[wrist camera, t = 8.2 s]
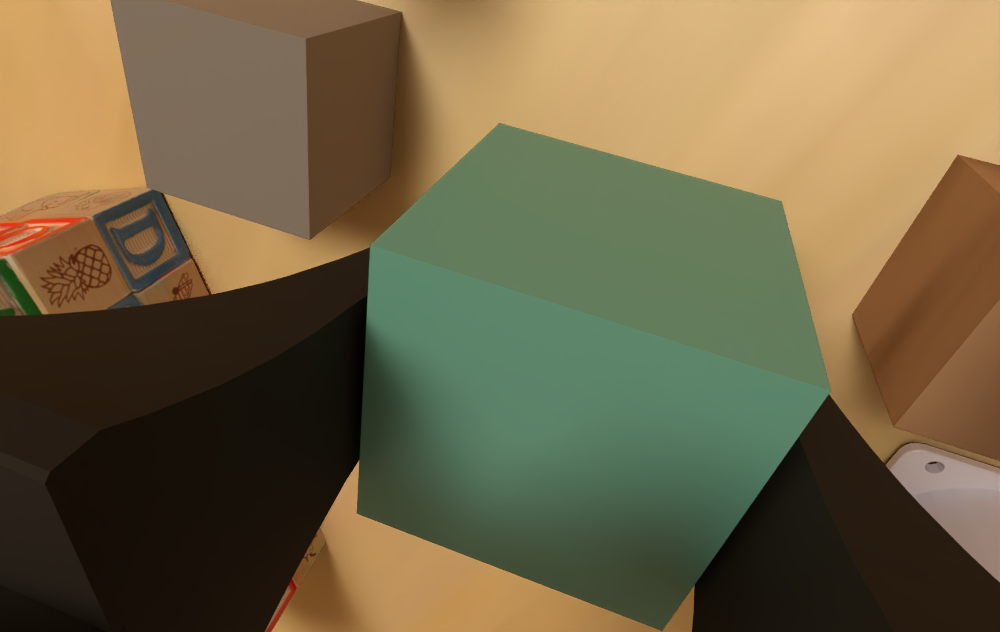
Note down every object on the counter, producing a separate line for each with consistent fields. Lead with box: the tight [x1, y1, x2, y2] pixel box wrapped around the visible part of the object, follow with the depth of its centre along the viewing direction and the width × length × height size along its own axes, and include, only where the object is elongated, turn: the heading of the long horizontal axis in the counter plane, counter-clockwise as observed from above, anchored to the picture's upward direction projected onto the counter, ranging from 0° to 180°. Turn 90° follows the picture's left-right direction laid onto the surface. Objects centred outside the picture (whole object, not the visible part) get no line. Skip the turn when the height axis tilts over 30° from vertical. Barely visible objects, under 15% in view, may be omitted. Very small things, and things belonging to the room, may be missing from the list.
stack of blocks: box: [0, 188, 326, 632], centre depth 24 cm, size 21×6×12 cm, turn 9°
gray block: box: [111, 0, 401, 240], centre depth 16 cm, size 5×5×5 cm
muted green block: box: [357, 123, 831, 631], centre depth 10 cm, size 5×5×5 cm
